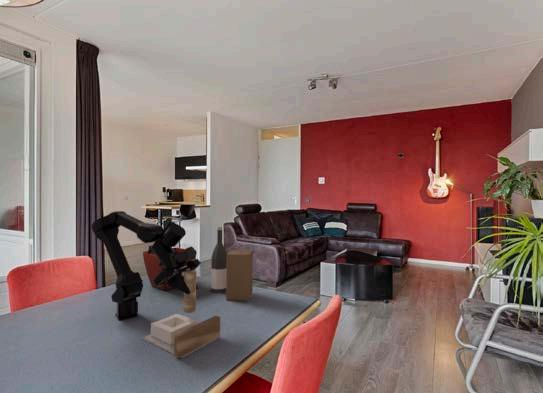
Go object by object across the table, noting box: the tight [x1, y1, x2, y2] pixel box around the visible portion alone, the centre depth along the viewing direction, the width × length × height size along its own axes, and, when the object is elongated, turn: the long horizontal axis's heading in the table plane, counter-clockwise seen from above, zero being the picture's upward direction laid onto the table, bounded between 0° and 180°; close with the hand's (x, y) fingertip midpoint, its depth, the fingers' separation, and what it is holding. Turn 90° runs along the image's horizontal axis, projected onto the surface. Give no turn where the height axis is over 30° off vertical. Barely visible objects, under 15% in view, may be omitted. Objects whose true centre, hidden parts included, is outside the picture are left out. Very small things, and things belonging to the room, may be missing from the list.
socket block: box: [150, 313, 198, 345], centre depth 97 cm, size 10×10×4 cm
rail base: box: [142, 315, 221, 359], centre depth 95 cm, size 18×16×7 cm
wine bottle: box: [210, 226, 228, 294], centre depth 144 cm, size 8×8×30 cm
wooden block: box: [225, 249, 254, 302], centre depth 135 cm, size 10×10×20 cm
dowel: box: [182, 270, 197, 314], centre depth 101 cm, size 4×4×13 cm
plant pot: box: [142, 246, 198, 291], centre depth 150 cm, size 19×19×17 cm
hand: (193, 291), depth 101 cm, fingers closed on dowel, 4 cm apart
